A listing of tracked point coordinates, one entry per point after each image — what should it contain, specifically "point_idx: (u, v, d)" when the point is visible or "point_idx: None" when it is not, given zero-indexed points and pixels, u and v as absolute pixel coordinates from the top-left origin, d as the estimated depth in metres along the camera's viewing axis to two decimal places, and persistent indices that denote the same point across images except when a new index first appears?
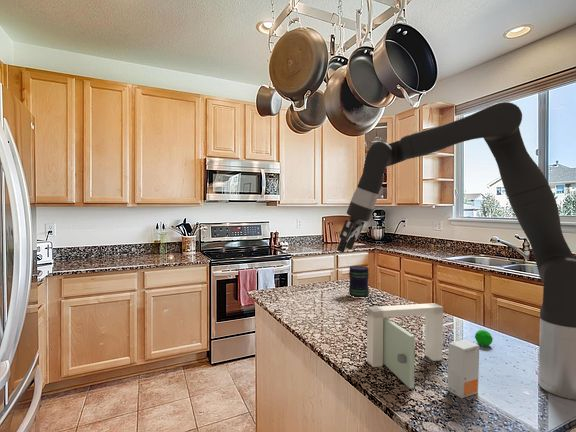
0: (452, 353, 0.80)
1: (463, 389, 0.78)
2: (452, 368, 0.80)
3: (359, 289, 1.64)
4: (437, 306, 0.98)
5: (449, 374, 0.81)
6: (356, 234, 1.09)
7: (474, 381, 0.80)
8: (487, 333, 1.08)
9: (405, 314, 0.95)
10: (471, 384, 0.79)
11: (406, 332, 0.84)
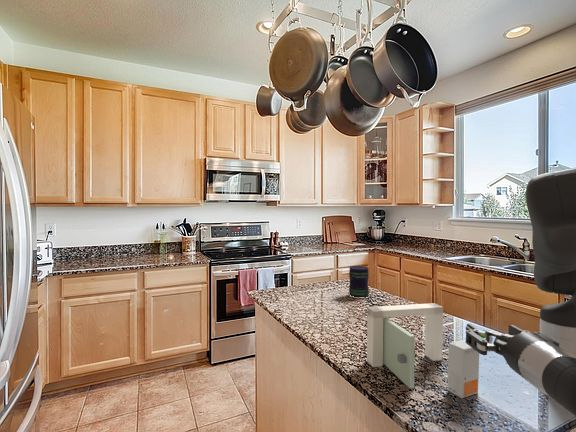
0: (452, 353, 0.80)
1: (463, 389, 0.78)
2: (452, 368, 0.80)
3: (359, 289, 1.64)
4: (437, 306, 0.98)
5: (449, 374, 0.81)
6: None
7: (474, 381, 0.80)
8: None
9: (405, 314, 0.95)
10: (471, 384, 0.79)
11: (406, 332, 0.84)
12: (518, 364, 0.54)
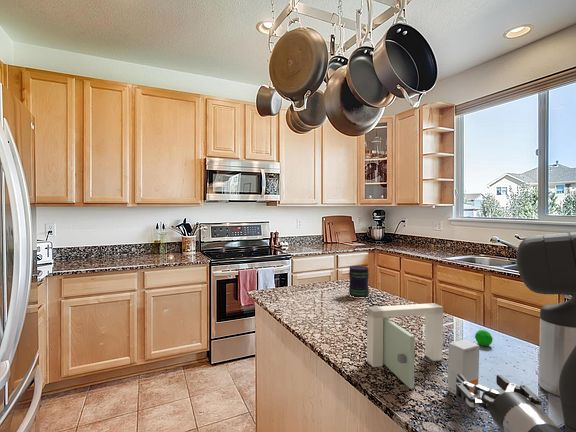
0: (452, 353, 0.80)
1: None
2: (452, 368, 0.80)
3: (359, 289, 1.64)
4: (437, 306, 0.98)
5: (449, 374, 0.81)
6: None
7: (474, 381, 0.80)
8: (487, 333, 1.08)
9: (405, 314, 0.95)
10: None
11: (406, 332, 0.84)
12: (503, 425, 0.59)
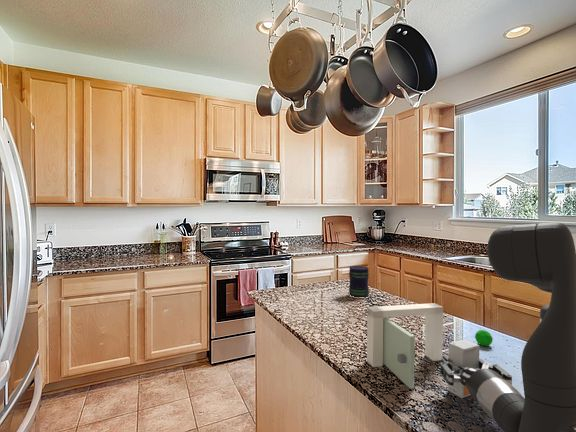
0: (452, 353, 0.80)
1: (463, 389, 0.78)
2: (452, 368, 0.80)
3: (359, 289, 1.64)
4: (437, 306, 0.98)
5: None
6: None
7: None
8: (487, 333, 1.08)
9: (405, 314, 0.95)
10: None
11: (406, 332, 0.84)
12: (476, 396, 0.67)
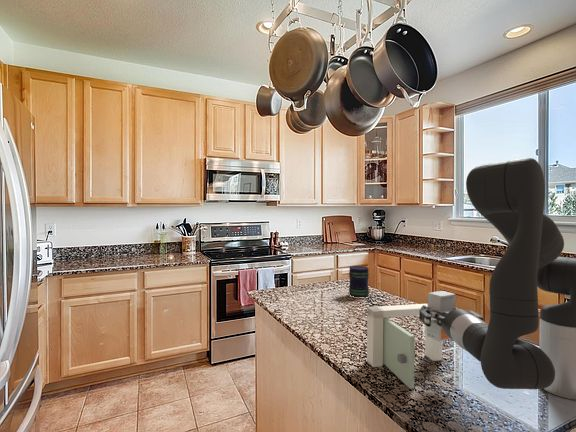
0: (431, 301, 0.87)
1: (440, 333, 0.85)
2: (431, 315, 0.87)
3: (359, 289, 1.64)
4: None
5: None
6: None
7: None
8: None
9: (405, 314, 0.95)
10: None
11: (406, 332, 0.84)
12: (450, 331, 0.74)
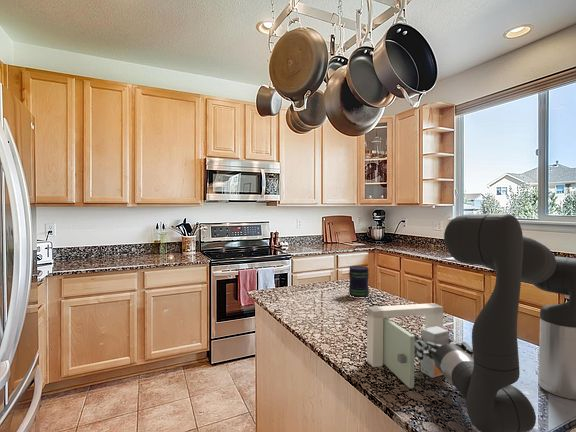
0: (424, 338, 0.90)
1: (433, 369, 0.87)
2: None
3: (359, 289, 1.64)
4: (437, 306, 0.98)
5: None
6: None
7: None
8: None
9: (405, 314, 0.95)
10: None
11: (406, 332, 0.84)
12: (440, 366, 0.77)
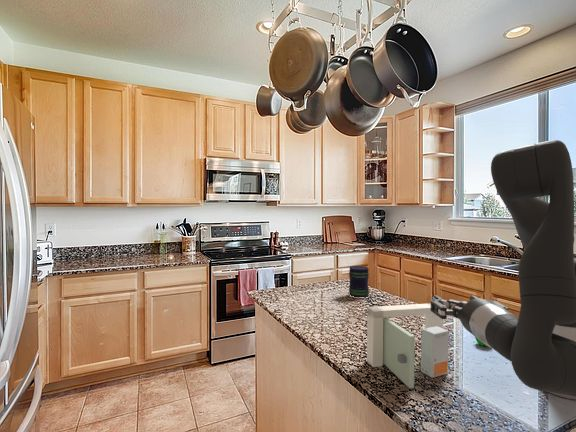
0: (424, 338, 0.90)
1: (433, 369, 0.87)
2: (424, 351, 0.90)
3: (359, 289, 1.64)
4: None
5: (422, 357, 0.90)
6: None
7: (444, 363, 0.89)
8: None
9: (405, 314, 0.95)
10: (441, 366, 0.89)
11: (406, 332, 0.84)
12: (469, 324, 0.63)
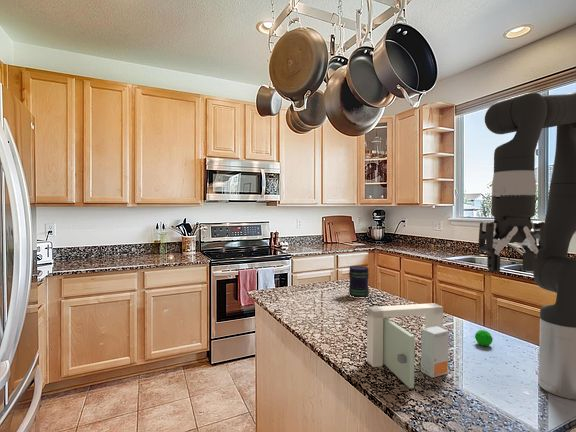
0: (424, 338, 0.90)
1: (433, 369, 0.87)
2: (424, 351, 0.90)
3: (359, 289, 1.64)
4: (437, 306, 0.98)
5: (422, 357, 0.90)
6: None
7: (444, 363, 0.89)
8: (487, 333, 1.08)
9: (405, 314, 0.95)
10: (441, 366, 0.89)
11: (406, 332, 0.84)
12: (498, 196, 0.67)
